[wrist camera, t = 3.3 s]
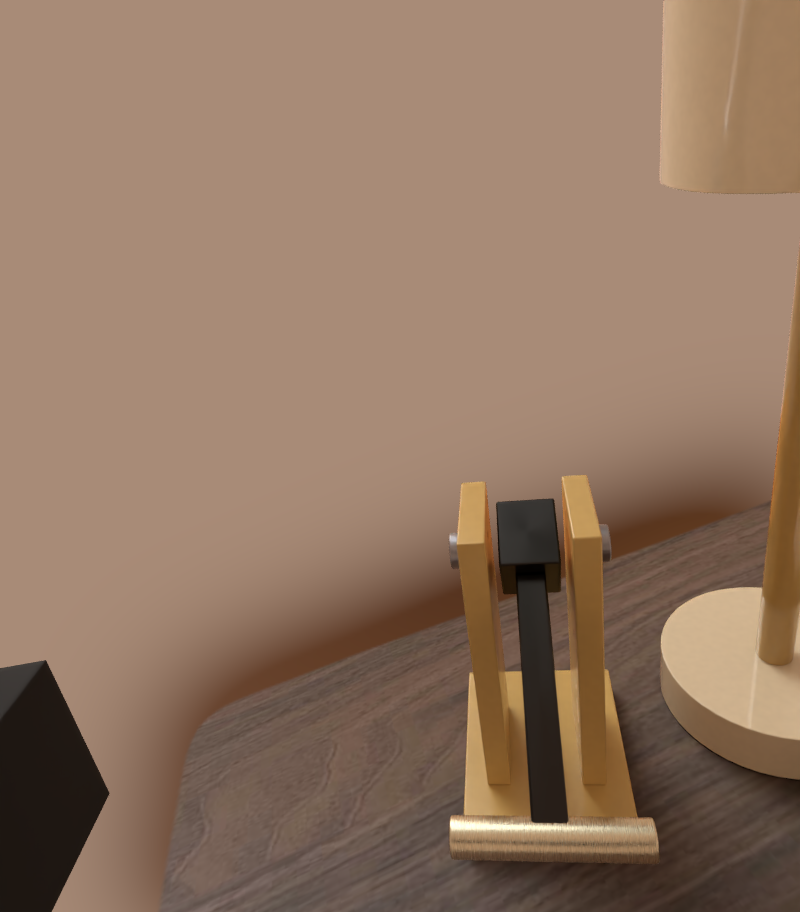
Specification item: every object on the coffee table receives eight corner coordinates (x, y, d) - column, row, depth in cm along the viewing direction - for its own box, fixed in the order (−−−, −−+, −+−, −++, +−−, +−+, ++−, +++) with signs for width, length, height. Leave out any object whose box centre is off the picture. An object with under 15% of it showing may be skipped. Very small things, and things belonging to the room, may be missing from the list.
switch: (655, 870, 21) (664, 857, 19) (456, 865, 22) (446, 852, 20) (602, 527, 28) (605, 494, 26) (454, 536, 29) (447, 504, 27)
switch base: (641, 856, 28) (646, 576, 22) (465, 853, 29) (422, 586, 23) (608, 686, 36) (604, 445, 30) (471, 688, 37) (440, 458, 31)
